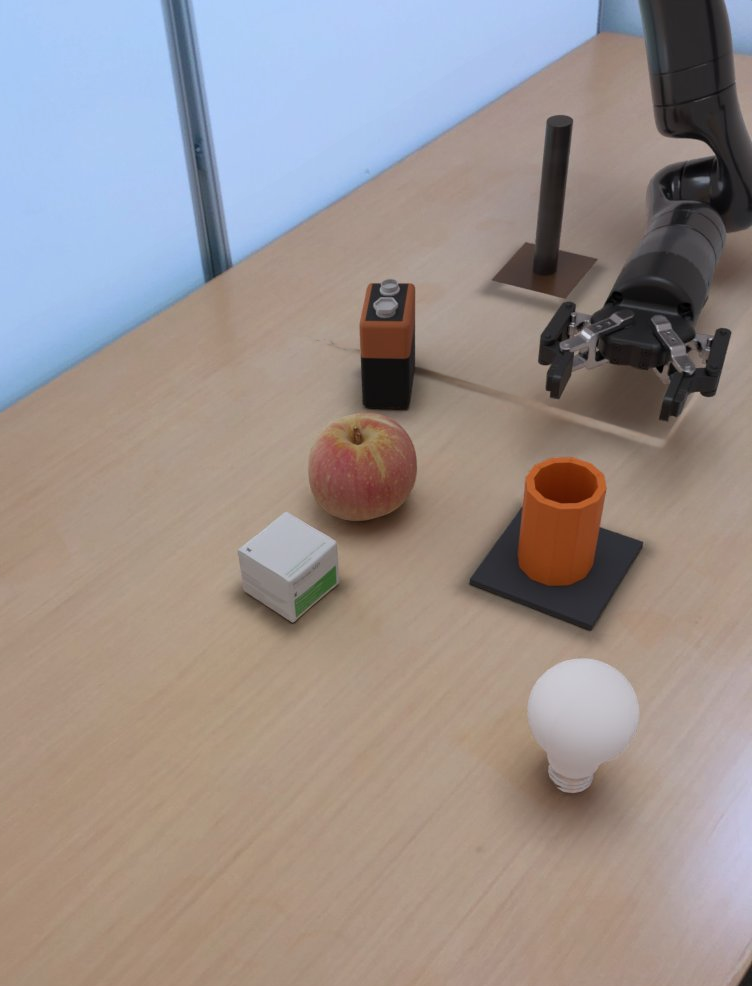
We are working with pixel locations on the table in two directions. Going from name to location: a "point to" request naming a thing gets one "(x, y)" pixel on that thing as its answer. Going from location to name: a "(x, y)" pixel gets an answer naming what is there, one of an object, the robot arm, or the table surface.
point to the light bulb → (581, 719)
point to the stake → (549, 225)
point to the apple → (362, 466)
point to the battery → (388, 344)
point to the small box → (289, 566)
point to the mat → (563, 602)
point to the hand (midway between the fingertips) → (609, 400)
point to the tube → (560, 520)
